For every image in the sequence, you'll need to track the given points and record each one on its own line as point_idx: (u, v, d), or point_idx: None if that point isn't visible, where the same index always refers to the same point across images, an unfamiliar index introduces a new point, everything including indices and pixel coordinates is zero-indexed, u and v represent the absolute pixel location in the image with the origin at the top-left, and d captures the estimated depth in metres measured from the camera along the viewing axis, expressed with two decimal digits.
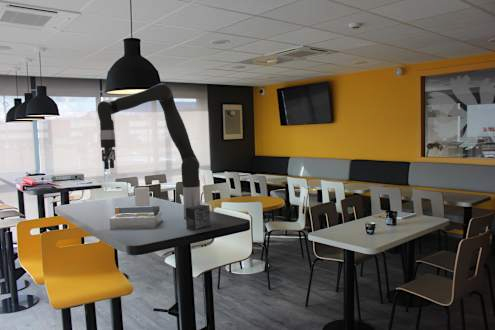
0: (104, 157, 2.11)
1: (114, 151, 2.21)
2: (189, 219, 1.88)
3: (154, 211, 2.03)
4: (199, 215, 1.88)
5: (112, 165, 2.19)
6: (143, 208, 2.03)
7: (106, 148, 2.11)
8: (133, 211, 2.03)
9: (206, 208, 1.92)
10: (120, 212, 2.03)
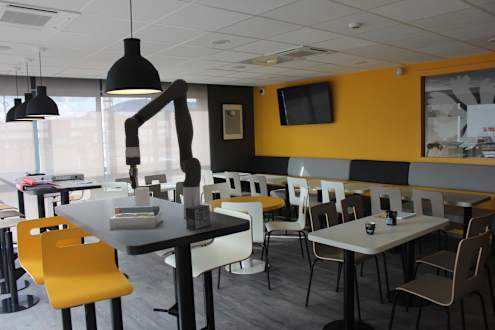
0: (136, 176, 2.10)
1: (129, 173, 2.03)
2: (189, 219, 1.88)
3: (154, 211, 2.03)
4: (199, 215, 1.88)
5: None
6: (143, 208, 2.03)
7: None
8: (133, 211, 2.03)
9: (206, 208, 1.92)
10: (120, 212, 2.03)
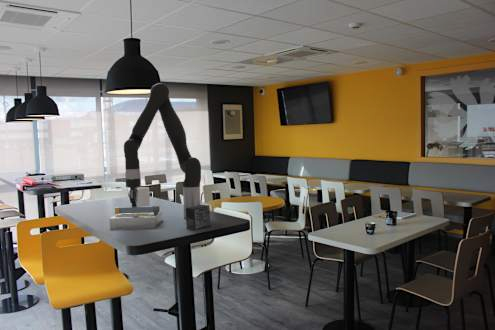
0: None
1: None
2: (189, 219, 1.88)
3: (154, 211, 2.03)
4: (199, 215, 1.88)
5: None
6: (143, 208, 2.03)
7: None
8: (133, 211, 2.03)
9: (206, 208, 1.92)
10: (120, 212, 2.03)
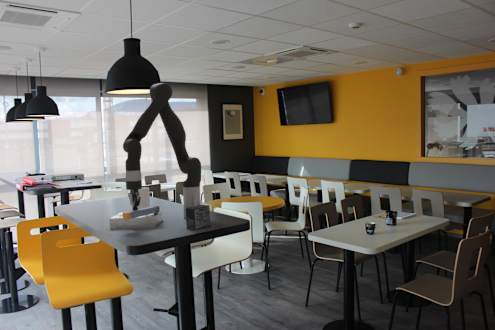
0: None
1: (135, 199, 1.91)
2: (189, 219, 1.88)
3: (157, 211, 2.03)
4: (199, 215, 1.88)
5: None
6: (149, 209, 1.99)
7: None
8: (141, 214, 1.94)
9: (206, 208, 1.92)
10: (131, 217, 1.89)
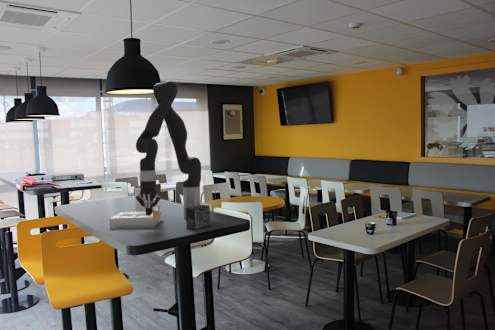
0: None
1: (157, 198, 1.90)
2: (189, 219, 1.88)
3: (159, 210, 2.04)
4: (199, 215, 1.88)
5: None
6: (158, 209, 1.99)
7: None
8: None
9: (206, 208, 1.92)
10: None
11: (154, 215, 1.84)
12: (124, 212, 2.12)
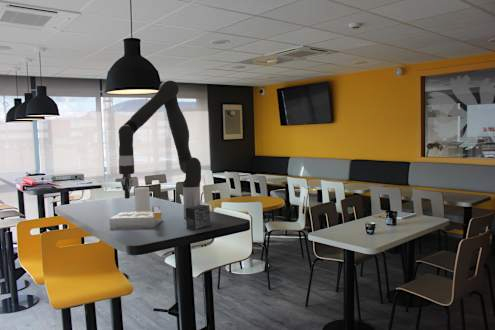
0: (129, 185, 2.04)
1: None
2: (189, 219, 1.88)
3: (159, 210, 2.04)
4: (199, 215, 1.88)
5: None
6: (158, 209, 1.99)
7: None
8: None
9: (206, 208, 1.92)
10: None
11: (155, 215, 1.84)
12: (124, 212, 2.12)
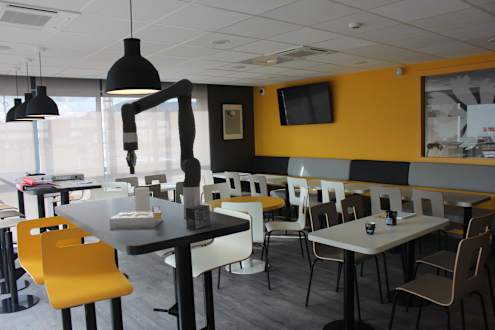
0: None
1: None
2: (189, 219, 1.88)
3: (159, 210, 2.04)
4: (199, 215, 1.88)
5: None
6: (158, 209, 1.99)
7: None
8: None
9: (206, 208, 1.92)
10: None
11: (155, 215, 1.84)
12: (124, 212, 2.12)
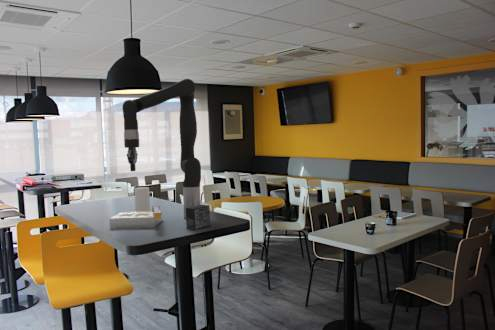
0: None
1: (127, 155, 2.05)
2: (189, 219, 1.88)
3: (159, 210, 2.04)
4: (199, 215, 1.88)
5: None
6: (158, 209, 1.99)
7: None
8: None
9: (206, 208, 1.92)
10: None
11: (155, 215, 1.84)
12: (124, 212, 2.12)
